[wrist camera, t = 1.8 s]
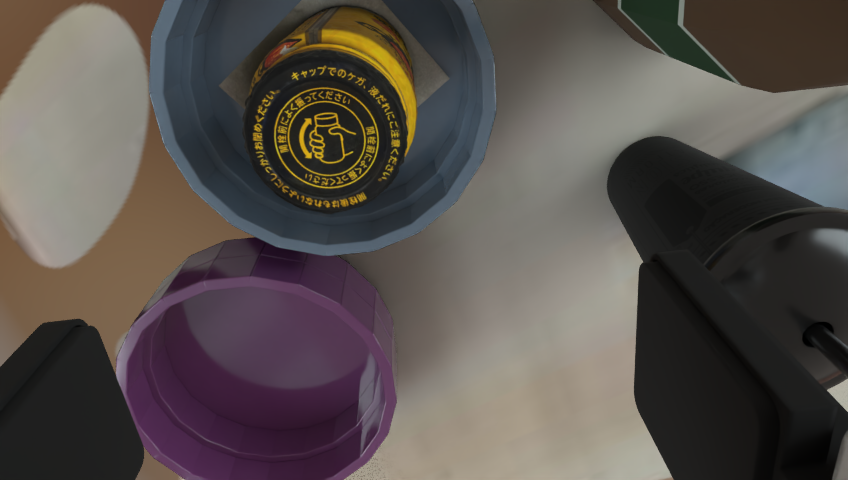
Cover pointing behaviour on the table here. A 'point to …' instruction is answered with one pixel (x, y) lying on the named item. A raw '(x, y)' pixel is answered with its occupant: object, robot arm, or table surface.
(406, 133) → the condiment
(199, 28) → the slate bowl
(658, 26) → the beer bottle
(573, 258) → the table surface
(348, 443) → the plum bowl
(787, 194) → the drinking cup
